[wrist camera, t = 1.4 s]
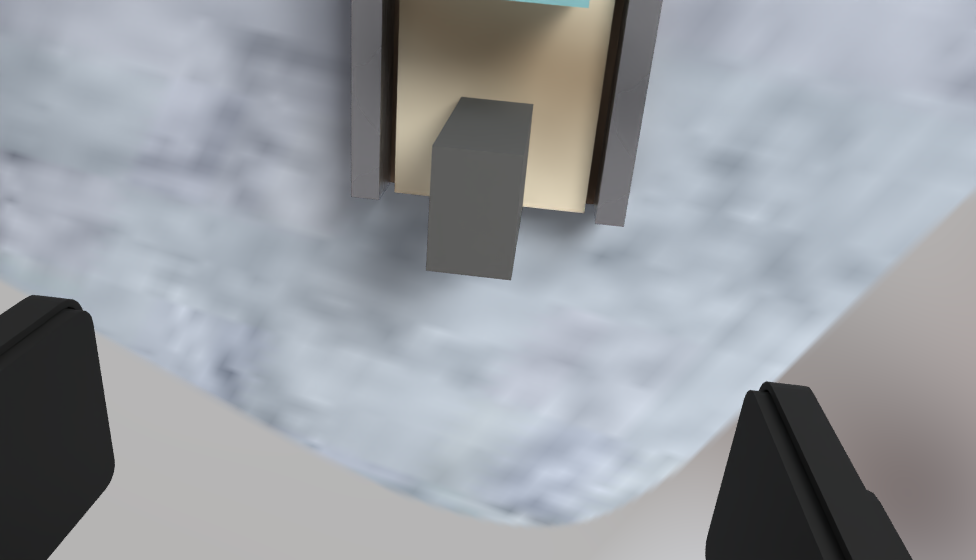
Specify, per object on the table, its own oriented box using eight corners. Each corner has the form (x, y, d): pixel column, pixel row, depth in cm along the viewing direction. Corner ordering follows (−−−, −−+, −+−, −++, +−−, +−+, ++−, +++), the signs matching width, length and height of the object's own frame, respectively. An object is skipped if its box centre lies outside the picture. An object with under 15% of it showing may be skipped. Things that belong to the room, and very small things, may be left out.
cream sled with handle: (411, -203, 18) (350, -250, 13) (639, -184, 18) (668, -225, 13) (400, 183, 23) (350, 261, 18) (583, 203, 23) (588, 289, 17)
